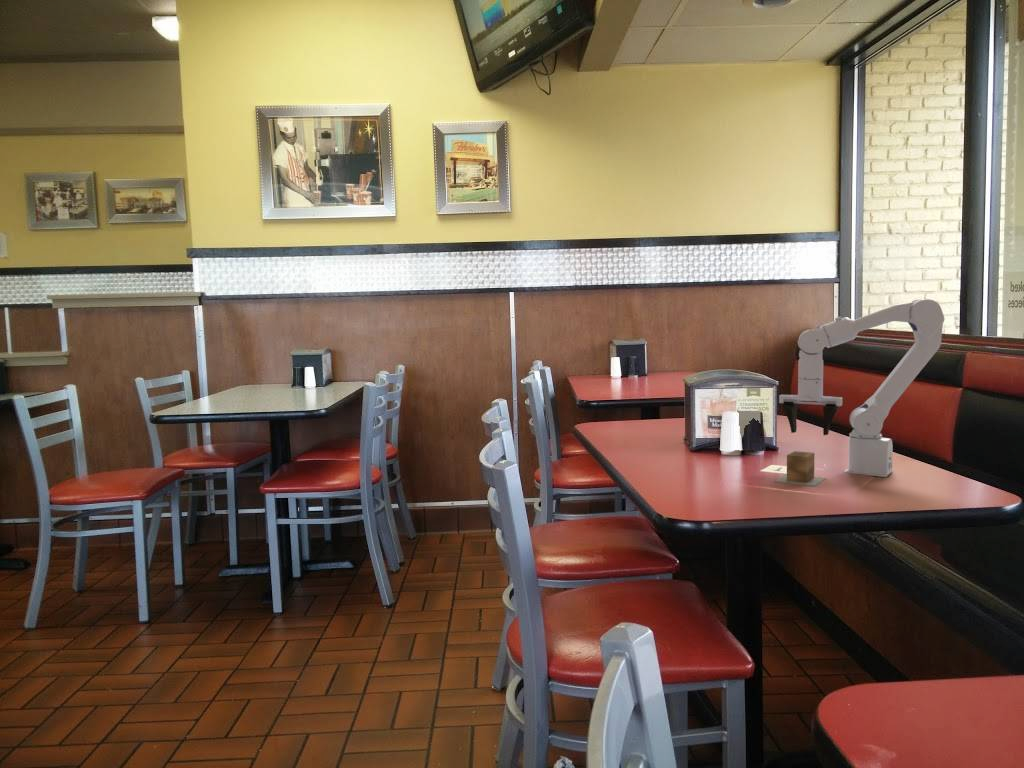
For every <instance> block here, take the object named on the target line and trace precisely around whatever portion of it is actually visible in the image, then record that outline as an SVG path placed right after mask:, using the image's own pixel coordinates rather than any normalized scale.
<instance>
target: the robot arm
mask: <svg viewBox="0 0 1024 768" xmlns="http://www.w3.org/2000/svg"><path fill="white" fill-rule="evenodd" d="M893 322H899V323H900V322H901V323H908V325H909V326H910V328H911V330H912V333H913V338H914V343H913V345H912V346H911V347H910V349H908V350H907V351H906V353H905V354H904V356H903V357H902V358H901V360H900V361H899V362H898V363H897V364H896V366H895V367H894V368H893V370H892V371H891V372H890V373H889V374H888V376H887V377H886V378H885V380H883V382H882V383H881V385H880V386H879V387H878V388H877V390H876V391H875V392H874V393H873V395H871V396H870V397H869V398H868V399H866V400H865V401H864V403H863V404H862V405H860V406H859V407H856V408H854V409H853V410H852V411H851V412H850V415H849V424H850V425H851V426H850V427H852V428H853V429H852V431H851V432H849V433H848V434H849V437H848V439H849V440H848V454H849V455H848V468H846V469H845V470H844V471H843V473H847V474H857V475H858V474H859V475H867V476H873V477H880V478H881V477H882V478H887V477H888V476H889V475H890V474H891V473H893V472H894V470H893V453H894V452H893V451H894V449H893V439H892V438H889V437H883V434H882V433H881V431H882V430H883V425H884V422H885V420H886V418H887V417H888V416H889V414H890V410H891V409H892V407H893V406H894V404H895V403H896V402H897V401H898V400H899V398H900V397H901V396H902V395H903V394H904V393H905V391H906V390H907V388H909V386H910V385H911V384H912V382H914V380H915V379H916V377H917V376H918V375H919V374H920V373H921V371H922V370H923V369H924V368H925V366H927V364H928V362H929V361H930V360H931V359H932V358H933V356H934V355H935V354H936V353H937V352H938V351H939V349H940V347H941V345H942V337H943V325H944V322H945V316H944V312H943V310H942V307H941V305H940V303H938V302H937V301H935V300H934V299H931V298H930V299H929V298H926V299H924V298H923V299H914V300H912V301H907V302H903V303H902V302H901V303H896V304H892V305H890V306H888V307H887V306H886V307H884V308H882V309H879V310H876V311H874V312H871V313H869V314H866V315H864V316H860V317H858V318H856V319H852V318H849V317H847V316H845V317H842V316H837V317H835V318H834V321H830V322H828V323H825V324H822V325H820V324H817V325H816V324H815V329H807V330H804V331H803V332H802V333H801V334H800V335H799V336H798V340H797V345H798V348H799V353H798V358H799V359H798V364H797V365H798V368H797V370H798V371H797V373H798V375H797V376H798V377H797V381H798V382H797V394H780V395H778V396H779V397H778V403H779V404H783V405H782V406H781V408H782V409H783V411H784V413H785V414H786V415H785V416H786V417H787V420H788V423H789V424H788V425H789V427H790V433H792V434H793V433H797V427H798V426H797V413H798V406H799V405H800V404H802V405H817V406H818V405H822V406H823V407H822V411H823V412H822V413H823V429H822V430H823V436H828V435H829V432H830V428H831V425H832V422H833V419H834V417H835V415H836V412H837V410H838V409H839V407H842V406H843V396H842V397H840V396H830V395H829V396H826V395H824V360H823V353H824V352H823V350H824V349H825V348H827V349H829V348H833V347H836V346H838V345H841V344H844V343H847V342H849V341H853V340H855V339H856V338H857V336H858V334H859V332H863V331H865V330H870V329H872V328H876V327H879V326H881V325H884V324H888V323H889V324H890V323H893Z"/></svg>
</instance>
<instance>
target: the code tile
mask: <svg viewBox="0 0 1024 768" xmlns="http://www.w3.org/2000/svg"><path fill="white" fill-rule="evenodd" d="M760 472H764V473H773V474H783V475H786V474H787V465H779V464H777V465H776V464H771V465H769V466H766V467H765V468H763V469H761V470H760Z"/></svg>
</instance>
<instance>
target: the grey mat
mask: <svg viewBox="0 0 1024 768" xmlns="http://www.w3.org/2000/svg"><path fill="white" fill-rule="evenodd" d="M825 480H827V478H826V477H821V476H820V477H819V476H814V478H813V479H812V480H810V481H809V482H807V483H803V482H793V481H787V474H783V476H781V477H779V478H777V479H776V480H774V482H775V483H782V484H788V485H798V486H799V485H800V486H808V487H816V486H818V485H819V484H820V483H823V481H824V482H825Z"/></svg>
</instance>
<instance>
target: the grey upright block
mask: <svg viewBox="0 0 1024 768" xmlns="http://www.w3.org/2000/svg"><path fill="white" fill-rule="evenodd" d="M736 410H737V412H738V413H739V426H740V434H741V437H743V435H744V428H745V426H746V425H748V424H750V423H749V421H751V420H752V419H753V418H754V419H755V420H756V421H757V420H758V421H759V423H760V424H761V420H762V419H761V410H760V409H758V408H740V409H739V408H738V409H737V408H736ZM736 410H735V411H736Z"/></svg>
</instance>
